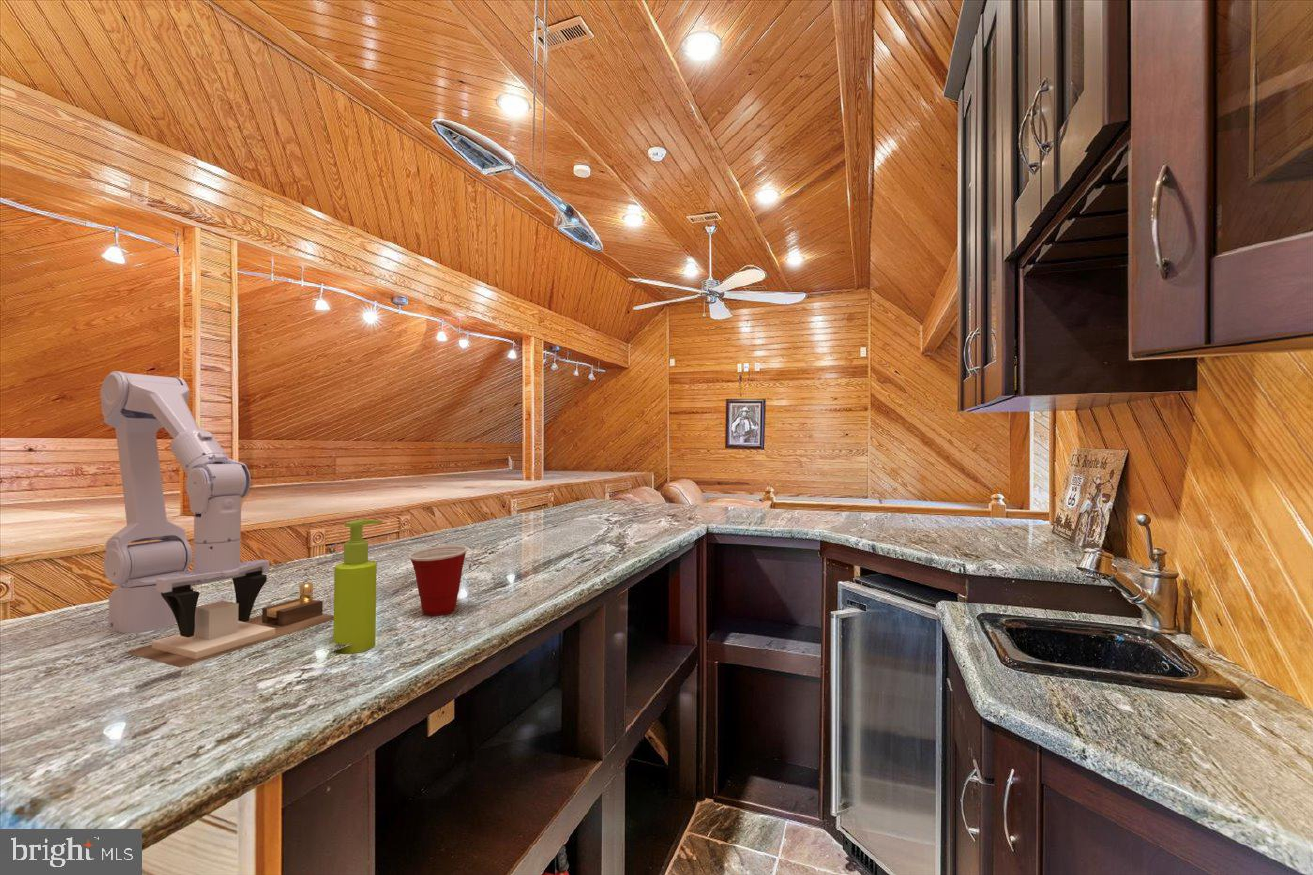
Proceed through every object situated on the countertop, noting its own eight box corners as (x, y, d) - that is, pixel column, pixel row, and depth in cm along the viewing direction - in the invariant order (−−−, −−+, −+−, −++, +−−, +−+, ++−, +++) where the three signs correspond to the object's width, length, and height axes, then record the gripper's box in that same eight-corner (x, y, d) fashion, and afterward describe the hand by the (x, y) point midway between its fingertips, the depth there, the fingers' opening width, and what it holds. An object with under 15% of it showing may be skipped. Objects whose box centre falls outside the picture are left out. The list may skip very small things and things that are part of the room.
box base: (124, 662, 80) (125, 635, 80) (289, 615, 102) (289, 594, 102) (180, 678, 74) (181, 648, 74) (341, 625, 96) (341, 602, 96)
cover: (151, 647, 81) (152, 611, 81) (232, 625, 91) (233, 593, 92) (195, 659, 77) (196, 620, 77) (275, 634, 87) (275, 600, 87)
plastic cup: (397, 611, 105) (398, 549, 105) (452, 600, 112) (452, 542, 113) (421, 624, 97) (422, 557, 97) (477, 611, 105) (478, 549, 105)
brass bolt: (266, 616, 92) (267, 591, 93) (307, 605, 99) (307, 582, 99) (276, 618, 92) (276, 593, 92) (316, 606, 98) (316, 583, 98)
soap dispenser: (389, 642, 88) (391, 519, 89) (349, 656, 82) (351, 524, 82) (364, 636, 91) (366, 517, 91) (324, 650, 85) (326, 522, 85)
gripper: (177, 550, 76) (175, 647, 76) (282, 535, 90) (280, 617, 90) (148, 546, 79) (146, 640, 79) (254, 532, 92) (253, 612, 92)
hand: (216, 628), depth 84 cm, fingers open, 7 cm apart
